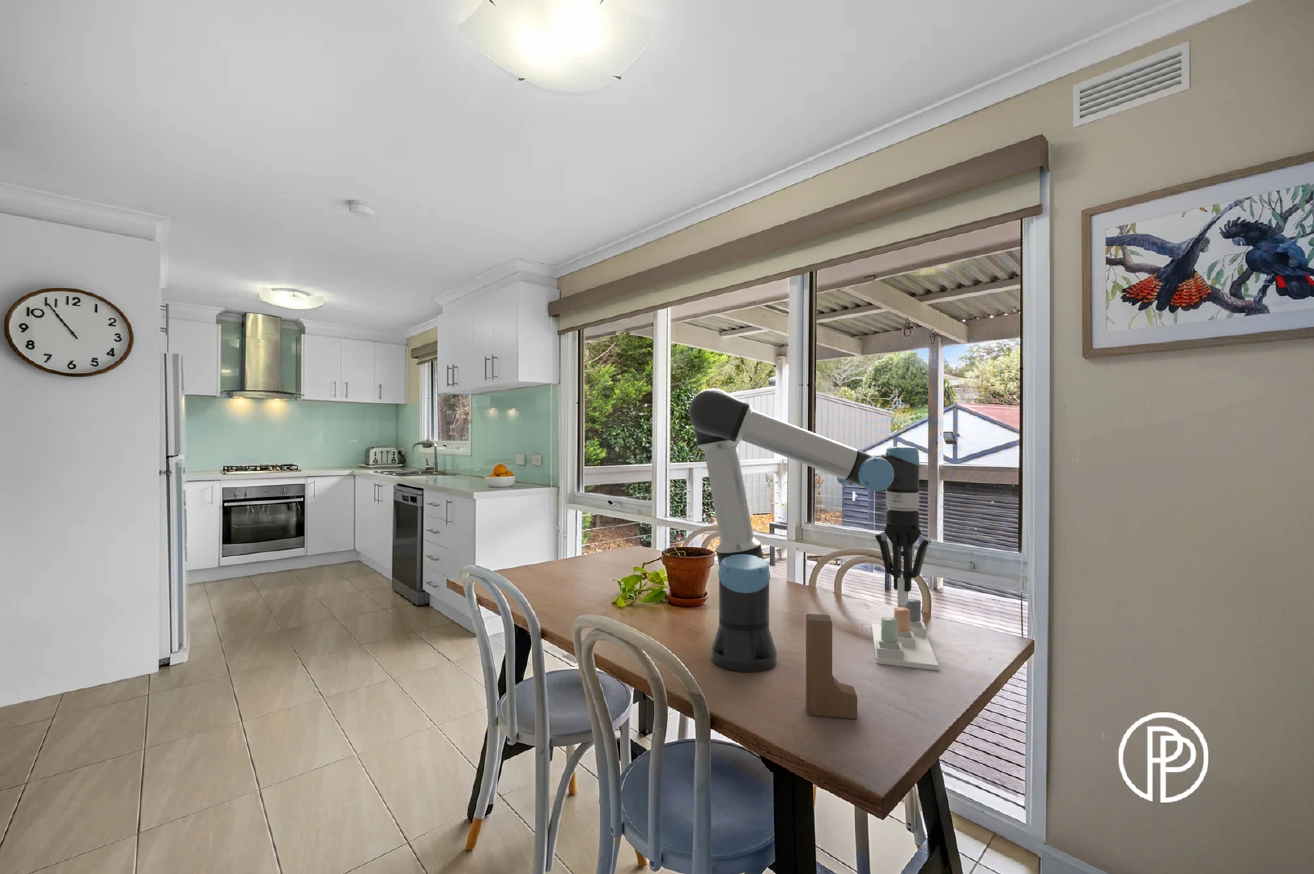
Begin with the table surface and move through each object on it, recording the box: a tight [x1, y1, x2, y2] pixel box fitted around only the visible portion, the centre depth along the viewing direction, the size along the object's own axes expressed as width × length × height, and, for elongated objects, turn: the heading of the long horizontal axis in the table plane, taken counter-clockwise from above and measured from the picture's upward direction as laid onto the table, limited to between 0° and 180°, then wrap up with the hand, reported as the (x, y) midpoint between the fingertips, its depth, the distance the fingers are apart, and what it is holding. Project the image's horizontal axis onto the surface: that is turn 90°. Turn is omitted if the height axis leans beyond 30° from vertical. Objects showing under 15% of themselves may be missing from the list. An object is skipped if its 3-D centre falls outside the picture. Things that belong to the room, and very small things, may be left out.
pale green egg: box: [880, 616, 898, 643], centre depth 134 cm, size 4×4×5 cm
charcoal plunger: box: [905, 598, 922, 622], centre depth 149 cm, size 4×4×5 cm
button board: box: [871, 621, 940, 671], centre depth 142 cm, size 13×25×3 cm, turn 162°
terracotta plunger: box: [893, 606, 910, 632], centre depth 142 cm, size 4×4×5 cm
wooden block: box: [805, 613, 858, 720], centre depth 109 cm, size 9×4×18 cm, turn 80°
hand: (902, 603), depth 142 cm, fingers closed
